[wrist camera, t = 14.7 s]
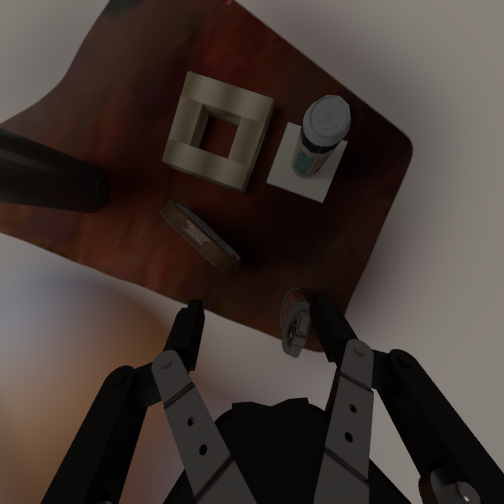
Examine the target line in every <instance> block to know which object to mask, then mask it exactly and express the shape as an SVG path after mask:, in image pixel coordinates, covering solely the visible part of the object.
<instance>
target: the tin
mask: <svg viewBox="0 0 504 504" xmlns="http://www.w3.org/2000/svg"><path fill="white" fill-rule="evenodd" d="M160 213H161V215H162V216H163V218H164V219H165V220H166V221H167V222H168V223H169V224H170V225H171V226H172V227H173V228H174V229H175V230H176V231H177V232H178V233H179V234H181V235H182V236H183V237H184V238H185V239H186V240H187V241H188V242H189V243H190V244H191V245H192V246H193V247H194V248H195V249H196V250H197V251H199V252H200V253H201V254H202V255H203V256H204V257H205V258H206V259H207V260H208V261H209V262H210V263H212V264H213V265H214V266H215V267H217V268H218V269H220V270H221V271H223V272H225V273H227V274H230V275H232V274H234V272H235V271H236V269H237V268H238V267H239V266H240V265H241V263H242V261H241V258H240V256H239V255H238V254H237V253H236V252H235V251H234V250H233V249H232V248H231V247H230V246H229V245H228V244H227V243H226V242H225V241H224V240H223V239H222V238H221V237H220V236H219V235H218V234H217V233H216V232H215V231H214V230H213V229H211V228H210V227H209V226H208V225H207V224H206V223H205V222H204V221H203V220H202V219H201V218H199V217H198V216H197V215H196V214H195V213H194V212H192V211H191V210H190V209H188V208H187V207H186V206H184V205H183V204H180V203H178V202H176V201H174V200H173V199H171V200H170V201H169V202H168V203H167V204H166V205H165V206H164V207H163V208H162V209H161V210H160Z"/></svg>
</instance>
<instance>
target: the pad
mask: <svg viewBox="0 0 504 504" xmlns="http://www.w3.org/2000/svg"><path fill="white" fill-rule="evenodd" d="M300 130H301V126H298V125H295V124H292V123H289V122H288V125H287V127H286V130H285V133H284V135H283V138H282V141H281V144H280V146H279V149H278V152H277V155H276V157H275V160H274V163H273V165H272V168H271V171H270V174H269V176H268V179H267V182H266V183H268V184H271V185H273V186H276V187H279V188H282V189H285V190H287V191H290V192H293V193H296V194H299V195H301V196H304V197H307V198H310V199H313V200H315V201H318V202H321V203H323V201H324V198H325V196H326V193H327V191H328V189H329V186H330V184H331V181H332V179H333V176H334V174H335V172H336V169H337V167H338V164H339V162H340V159H341V157H342V154H343V152H344V150H345V147H346V145H347V141H343V140H341V142H340V143H339V144H338V146H337V147H336V148H335V150H334V151H333V152H332V154H331V155H330V156H329V158H328V159H327V160H326V162H325V163H324V164H323V166H322V167H321V168H320V170H319V171H318V172H317V174H315V175H314V176H312V177H309V178H302V177H299V176H298V175H296V174H295V172H294V171H293V169H292V164H291V162H292V158H293V154H294V151H295V147H296V144H297V140H298V137H299V133H300Z"/></svg>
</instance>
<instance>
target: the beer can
mask: <svg viewBox="0 0 504 504" xmlns="http://www.w3.org/2000/svg"><path fill="white" fill-rule="evenodd" d="M350 121H351V117H350V111H349V105H348V104H347V103H346V102H345V101H344V100H343V99H342V98H341V97H340V96H332V95H327V96H325V97H323V98H321V99H319V100H318V101H316V102H314V103H313V104H312V105H311V106H310V107H309V108H308V110H307V112H306V113H305V116H304V119H303V123H302V126H301V130H300V133H299V137H298V140H297V144H296V147H295V151H294V154H293V158H292V162H291V164H292V169H293V171H294V172H295V174H296V175H298V176H299V177H302V178H309V177H312V176H314V175H315V174H317V172H318V171H319V170H320V168H321V167H322V166H323V164H324V163H325V162H326V160H327V159H328V158H329V156H330V155H331V154H332V152H333V151H334V150H335V148H336V147H337V146H338V144H339V143H340V142H341V140H342V139H343V138H344V137H345V135H346V134H347V132H348V130H349V127H350Z"/></svg>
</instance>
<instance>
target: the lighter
mask: <svg viewBox="0 0 504 504" xmlns="http://www.w3.org/2000/svg"><path fill="white" fill-rule="evenodd" d="M309 308H310V304H309V303H308V302H307V301H306V299H305V297H304V294H303V292H302V290H301V289H300V288H298V287H291V288H290V289H289V290H288V292H287V294H286V296H285V298H284V301H283V304H282V308H281V313H280V327H281V328H282V336H283V338H282V347H283V350H284V352H285V353H286V354H288V355H290V356H292V357H294V358H297V357H299V354H300V352H301V350H302V348H303V347H304V346H305V343H306V340H307V337H308V334H309V331H310V327H311V322H312V320H311V318H310V314H309Z"/></svg>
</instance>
